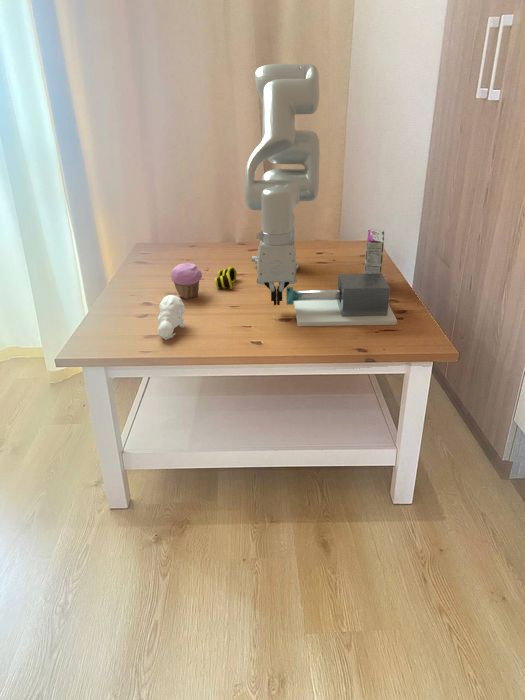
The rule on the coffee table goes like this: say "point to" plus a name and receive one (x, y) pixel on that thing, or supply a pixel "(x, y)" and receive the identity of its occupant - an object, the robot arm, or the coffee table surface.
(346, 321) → the mounting board
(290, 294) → the steel shaft
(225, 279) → the opera glasses
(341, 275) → the shaft housing
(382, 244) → the candy bar box
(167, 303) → the white figurine
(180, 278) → the cupcake
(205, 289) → the coffee table surface
